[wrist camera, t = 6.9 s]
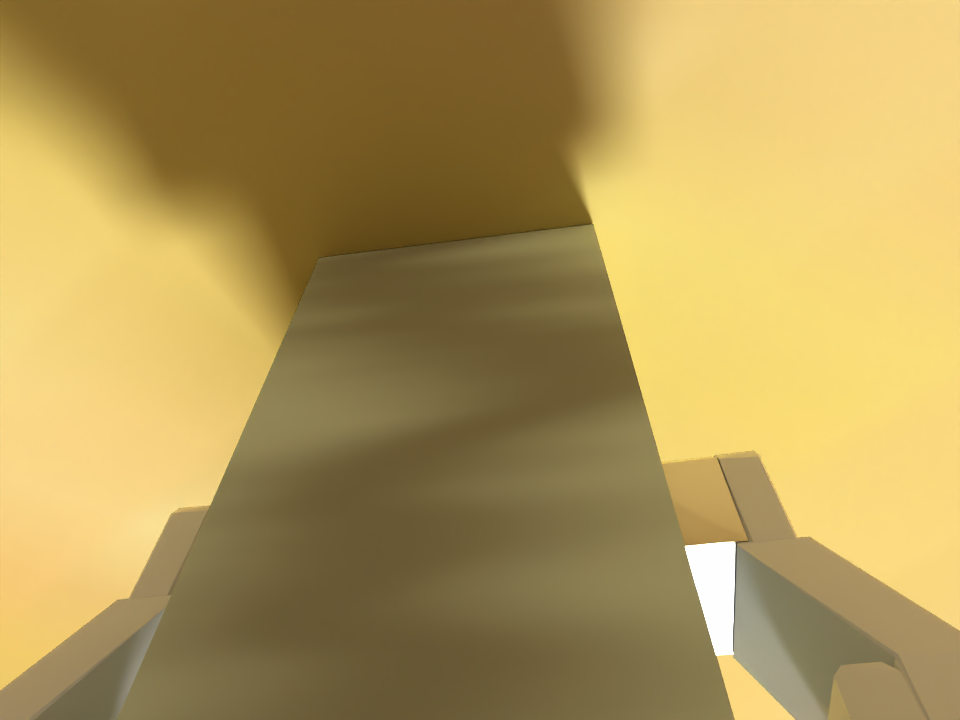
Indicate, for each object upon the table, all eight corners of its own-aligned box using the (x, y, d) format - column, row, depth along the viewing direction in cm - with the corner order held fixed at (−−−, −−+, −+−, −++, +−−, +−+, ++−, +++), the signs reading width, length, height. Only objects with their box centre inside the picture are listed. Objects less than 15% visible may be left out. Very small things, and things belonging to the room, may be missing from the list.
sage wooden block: (593, 223, 13) (784, 893, 5) (608, 447, 15) (755, 1173, 7) (319, 257, 14) (22, 936, 5) (374, 471, 16) (237, 1188, 7)
